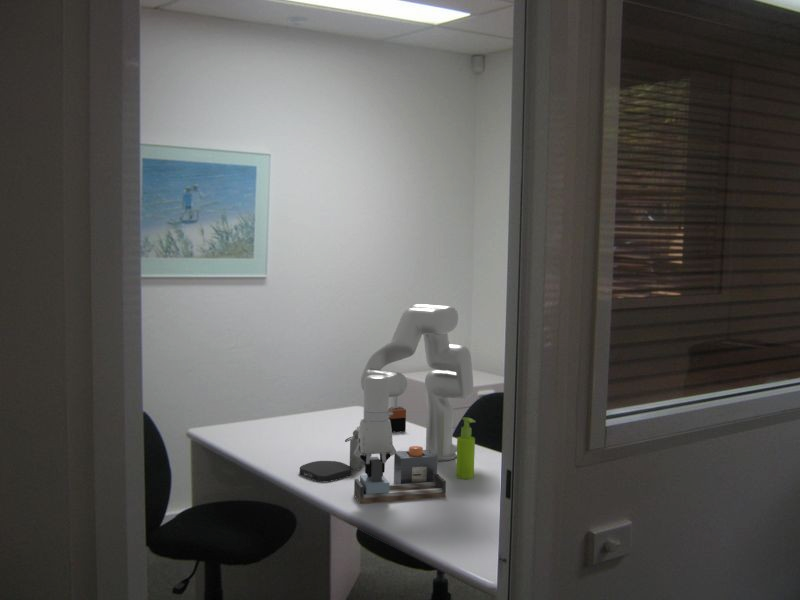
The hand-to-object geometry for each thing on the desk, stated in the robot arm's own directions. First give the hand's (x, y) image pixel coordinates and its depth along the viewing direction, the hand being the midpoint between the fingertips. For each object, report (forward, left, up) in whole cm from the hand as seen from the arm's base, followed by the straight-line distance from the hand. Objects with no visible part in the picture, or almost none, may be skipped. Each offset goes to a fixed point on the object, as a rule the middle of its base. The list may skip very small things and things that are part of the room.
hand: (374, 474), depth 245 cm
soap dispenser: (-35, -14, -7) cm, 39 cm away
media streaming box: (+10, -27, -8) cm, 30 cm away
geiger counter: (-5, -39, -8) cm, 40 cm away
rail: (-8, 0, -7) cm, 11 cm away
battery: (-29, -78, -8) cm, 84 cm away
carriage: (0, 0, -4) cm, 4 cm away
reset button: (-16, -10, +1) cm, 19 cm away
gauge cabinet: (-16, -10, -7) cm, 20 cm away
